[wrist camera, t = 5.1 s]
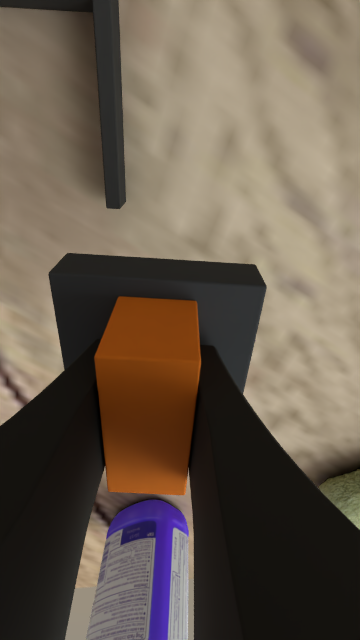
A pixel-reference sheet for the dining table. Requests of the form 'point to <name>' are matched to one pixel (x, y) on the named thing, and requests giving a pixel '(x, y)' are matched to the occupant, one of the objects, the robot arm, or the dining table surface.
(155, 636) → the bottle
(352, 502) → the washcloth
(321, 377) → the dining table surface
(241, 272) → the connector pad
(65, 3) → the base pad
